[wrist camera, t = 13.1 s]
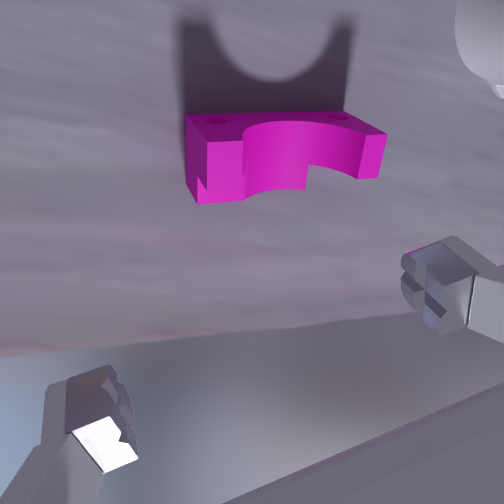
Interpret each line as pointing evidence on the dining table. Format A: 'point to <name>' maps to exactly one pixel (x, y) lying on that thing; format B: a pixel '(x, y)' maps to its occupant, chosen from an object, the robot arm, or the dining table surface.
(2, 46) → the dining table surface
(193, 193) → the toy block
